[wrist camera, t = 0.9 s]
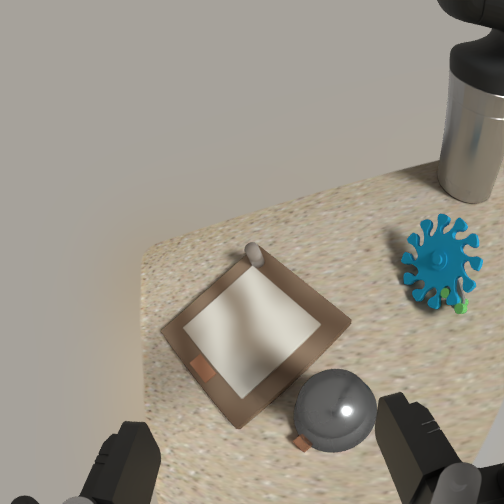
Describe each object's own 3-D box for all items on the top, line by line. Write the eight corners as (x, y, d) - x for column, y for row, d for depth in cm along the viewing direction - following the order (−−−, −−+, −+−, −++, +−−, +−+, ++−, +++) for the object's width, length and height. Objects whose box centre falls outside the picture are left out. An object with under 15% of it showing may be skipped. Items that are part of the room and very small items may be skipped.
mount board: (260, 250, 40) (251, 229, 37) (351, 323, 31) (351, 308, 28) (165, 334, 37) (147, 321, 33) (240, 429, 28) (225, 427, 25)
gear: (388, 240, 34) (455, 194, 26) (413, 248, 37) (473, 209, 29) (413, 332, 28) (496, 294, 21) (436, 330, 31) (507, 297, 24)
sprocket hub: (335, 359, 30) (332, 327, 22) (392, 408, 25) (414, 395, 17) (272, 419, 28) (243, 411, 20) (327, 472, 23) (320, 489, 15)
